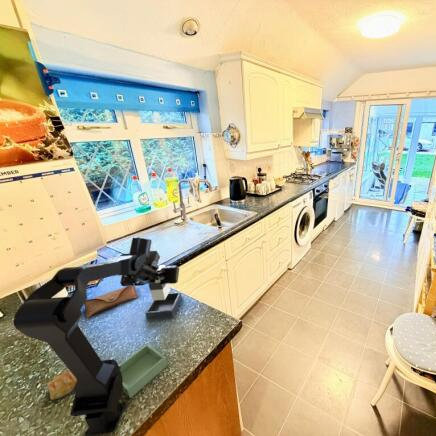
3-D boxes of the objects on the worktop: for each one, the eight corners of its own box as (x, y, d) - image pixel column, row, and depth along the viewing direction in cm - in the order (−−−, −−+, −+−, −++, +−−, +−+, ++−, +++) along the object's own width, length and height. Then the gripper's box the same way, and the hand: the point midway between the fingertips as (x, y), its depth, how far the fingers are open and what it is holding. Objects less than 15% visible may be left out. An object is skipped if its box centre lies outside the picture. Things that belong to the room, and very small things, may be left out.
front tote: (130, 398, 65) (127, 390, 63) (112, 380, 69) (108, 372, 68) (167, 365, 74) (165, 357, 72) (149, 351, 78) (147, 343, 77)
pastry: (88, 364, 74) (84, 355, 72) (95, 377, 70) (92, 368, 69) (47, 389, 67) (42, 380, 65) (53, 405, 63) (48, 396, 62)
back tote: (173, 318, 92) (171, 311, 91) (146, 320, 91) (145, 312, 89) (182, 298, 102) (180, 292, 101) (158, 300, 101) (157, 293, 100)
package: (165, 299, 91) (159, 273, 87) (152, 300, 90) (145, 274, 86) (170, 289, 97) (165, 264, 92) (159, 290, 96) (153, 265, 92)
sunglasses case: (86, 318, 90) (81, 302, 91) (88, 317, 96) (82, 301, 96) (139, 297, 102) (135, 282, 102) (138, 297, 107) (133, 283, 108)
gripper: (173, 247, 83) (187, 258, 97) (116, 249, 80) (139, 260, 95) (168, 279, 78) (184, 286, 92) (108, 283, 76) (133, 289, 90)
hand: (160, 279), depth 93 cm, fingers closed on package, 4 cm apart
